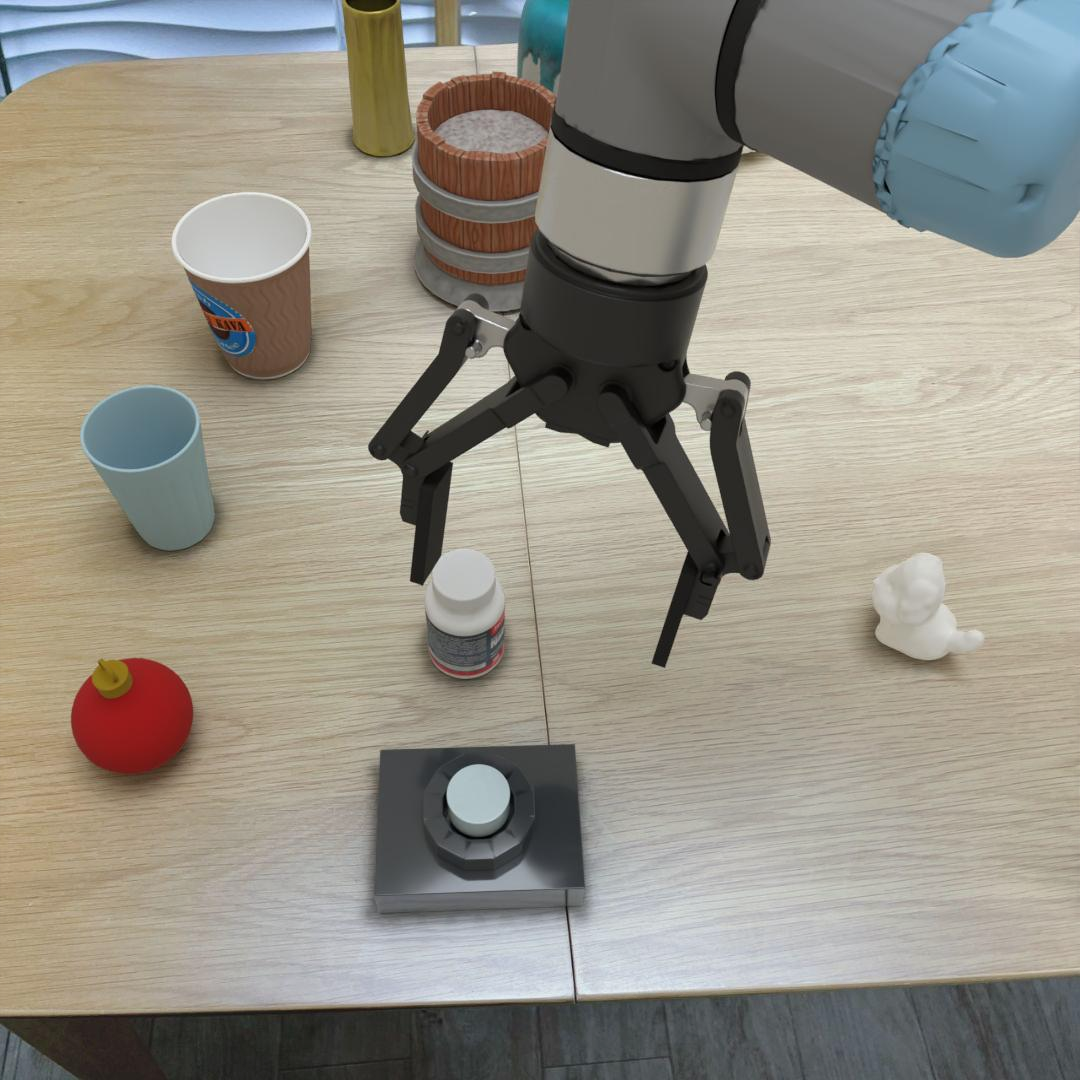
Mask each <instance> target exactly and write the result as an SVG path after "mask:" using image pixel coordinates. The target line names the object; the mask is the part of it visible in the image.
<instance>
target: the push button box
mask: <svg viewBox="0 0 1080 1080" xmlns="http://www.w3.org/2000/svg"><path fill="white" fill-rule="evenodd" d="M576 752H577V751H576V744H575V743H564V744H563V743H562V744H559V743H558V744H531V745H530V744H529V745H526V744H525V745H495V746H494V745H493V746H462V747H461V746H458V747H456V746H455V747H426V748H425V747H423V748H392V749H391V748H390V749H380V750H379V770H378V792H377V816H376V818H377V819H376V837H375V839H376V840H375V841H376V842H375V861H374V863H375V864H374V865H375V867H374V884H373V885H374V889H373V896H374V901H375V904H376V907H377V911H378V913H379V914H394V913H395V914H396V913H421V912H422V913H423V912H446V911H449V912H450V911H476V910H477V911H479V910H501V909H503V910H505V909H529V908H556V907H557V908H558V907H560V908H561V907H582V905H583V901H584V897H585V896H584V895H585V891H586V880H585V867H584V866H585V864H584V853H583V852H584V851H583V836H582V823H581V809H580V807H581V806H580V795H579V793H580V792H579V780H578V768H577V767H578V765H577V753H576ZM476 764H482V765H487V766H491V767H493V768H495V769H497V770H498V771H499V772H500V773H501V774H502V775H503V776H504V777H505V778H506V780H507V782H508V785H509V788H510V810H509V815H508V818H507V820H506V822H505V823H504V825H503V826H502V827H501V828H500V829H499V830H497V831H496V832H494V833H493V834H490V835H488V836H483V837H473V836H469V835H466V834H464V833H462V832H460V831H459V830H458V829H457V828H456V827H455V826H454V825H453V824H452V822H451V820H450V818H449V814H448V806H447V788H448V785H449V782H450V780H451V779H452V777H453V776H454V775H455V774H456V773H457V772H458V771H460V770H461V769H463V768H465V767H467V766H470V765H476Z"/></svg>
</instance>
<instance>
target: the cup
mask: <svg viewBox="0 0 1080 1080" xmlns="http://www.w3.org/2000/svg"><path fill="white" fill-rule="evenodd" d="M199 413H200V412H199V409H198V407H197V406H196V404H195V403H194V402H193V400H192V399H191V398H190V397H189V396H188V395H186V394H185V393H183V392H181V391H179V390H177V389H175V388H172V387H168V386H165V385H157V384H156V385H155V384H143V385H137V386H132V387H127V388H124V389H121V390H119V391H116V392H114V393H112V394H109V395H108V396H107V397H105V398H103V399H102V400H101V401H99V402H98V403H96V404H95V405H94V406H93V407H92V409H90V411H89V412H88V414H87V415H86V416H85V418H84V419H83V421H82V424H81V427H80V432H79V443H80V446H81V448H82V449H81V450H82V451H83V453H84V455H85V456H86V457H87V459H88V461H89V462H90V463H91V465H92V466H93V468H94V470H95V471H96V473H97V474H98V475H99V476H100V478H101V479H102V481H103V482H104V484H105V485H106V487H107V488H108V490H109V491H110V493H111V494H112V496H113V497H114V499H115V500H116V502H117V503H118V505H119V506H120V508H121V509H122V511H123V512H124V514H125V515H126V517H127V518H128V520H129V521H130V523H131V524H132V526H133V527H134V528H135V530H136V531H137V533H138V535H139V536H140V537H141V538H142V540H143V541H145V542H146V543H147V544H148V545H149V546H151V547H152V548H155V549H158V550H162V551H168V552H170V551H181V550H185V549H187V548H190V547H192V546H194V545H196V544H198V543H200V542H201V541H202V540H203V539H204V538H205V537H206V536H207V535H208V534H209V533H210V532H211V530H212V528H213V526H214V522H215V518H216V513H215V507H214V501H213V500H214V499H213V493H212V488H211V487H212V486H211V482H210V476H209V475H210V474H209V468H208V463H207V457H206V451H205V445H204V436H203V430H202V423H201V417H200V414H199Z"/></svg>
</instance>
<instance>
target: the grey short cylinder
mask: <svg viewBox="0 0 1080 1080" xmlns="http://www.w3.org/2000/svg"><path fill="white" fill-rule="evenodd" d="M447 806H448V814H449V818H450V820H451V822H452V824H453V825H454V826H455V827H456V828H457V829H458V830H459V831H460V832H462V833H464V834H466V835H469V836H473V837H483V836H488V835H490V834H493V833H494V832H496V831H497V830H499V829H500V828H501V827H502V826H503V825H504V823H505V822H506V820H507V818H508V815H509V810H510V788H509V785H508V782H507V780H506V778H505V777H504V776H503V775H502V774H501V773H500V772H499V771H498V770H497V769H495V768H493V767H491V766H487V765H482V764H476V765H470V766H467V767H465V768H463V769H461V770H460V771H458V772H457V773H456V774H455V775H454V776H453V777H452V779H451V780H450V782H449V785H448V788H447Z"/></svg>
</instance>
